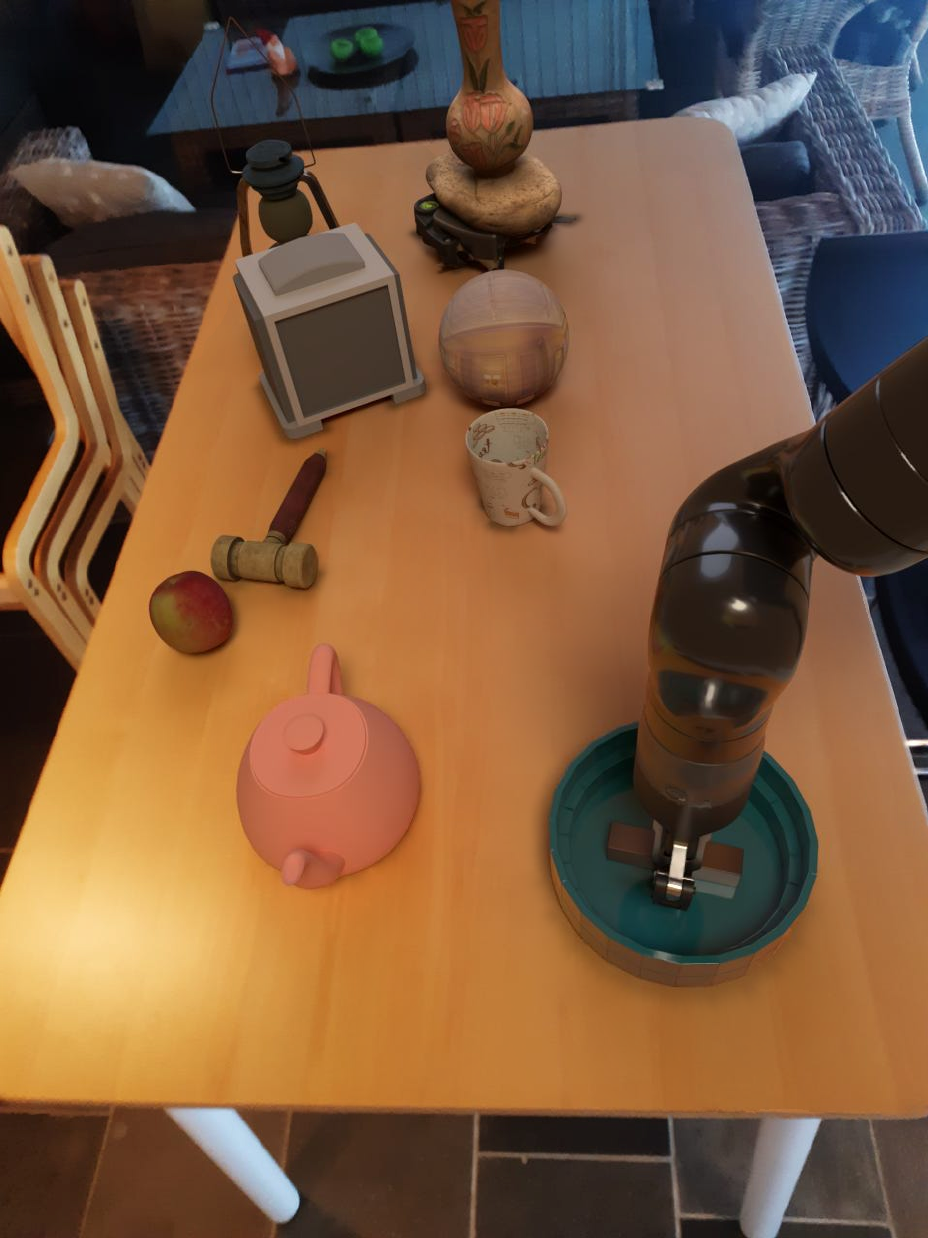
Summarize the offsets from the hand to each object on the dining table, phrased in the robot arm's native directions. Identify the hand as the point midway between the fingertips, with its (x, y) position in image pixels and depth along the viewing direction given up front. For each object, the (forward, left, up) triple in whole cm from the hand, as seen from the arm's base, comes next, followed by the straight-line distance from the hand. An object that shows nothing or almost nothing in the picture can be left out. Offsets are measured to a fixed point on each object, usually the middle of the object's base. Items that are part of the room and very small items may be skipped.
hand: (674, 857), depth 69 cm
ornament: (+27, -55, -1) cm, 61 cm away
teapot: (+28, +2, -1) cm, 28 cm away
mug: (+20, -35, -1) cm, 40 cm away
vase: (+38, -89, -1) cm, 97 cm away
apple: (+48, -13, -1) cm, 50 cm away
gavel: (+45, -30, -1) cm, 54 cm away
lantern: (+60, -71, -1) cm, 93 cm away
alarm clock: (+48, -53, -1) cm, 72 cm away
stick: (0, 0, 0) cm, 0 cm away
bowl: (0, 0, -1) cm, 1 cm away
